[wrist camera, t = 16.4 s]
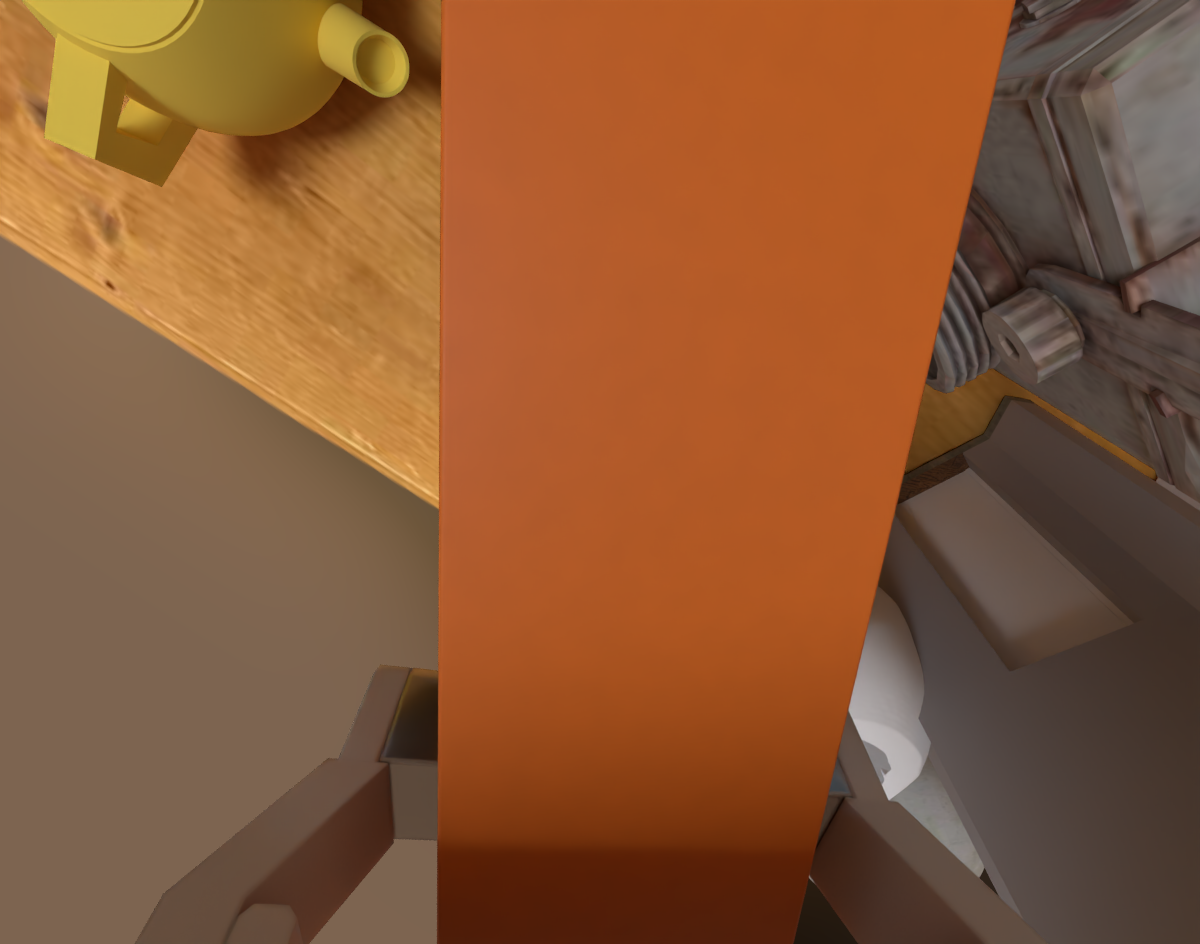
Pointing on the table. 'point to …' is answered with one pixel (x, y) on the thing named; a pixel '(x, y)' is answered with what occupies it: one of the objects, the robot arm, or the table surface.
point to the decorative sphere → (939, 815)
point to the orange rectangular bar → (676, 435)
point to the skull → (890, 698)
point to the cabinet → (1060, 673)
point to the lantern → (1090, 227)
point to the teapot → (202, 71)
